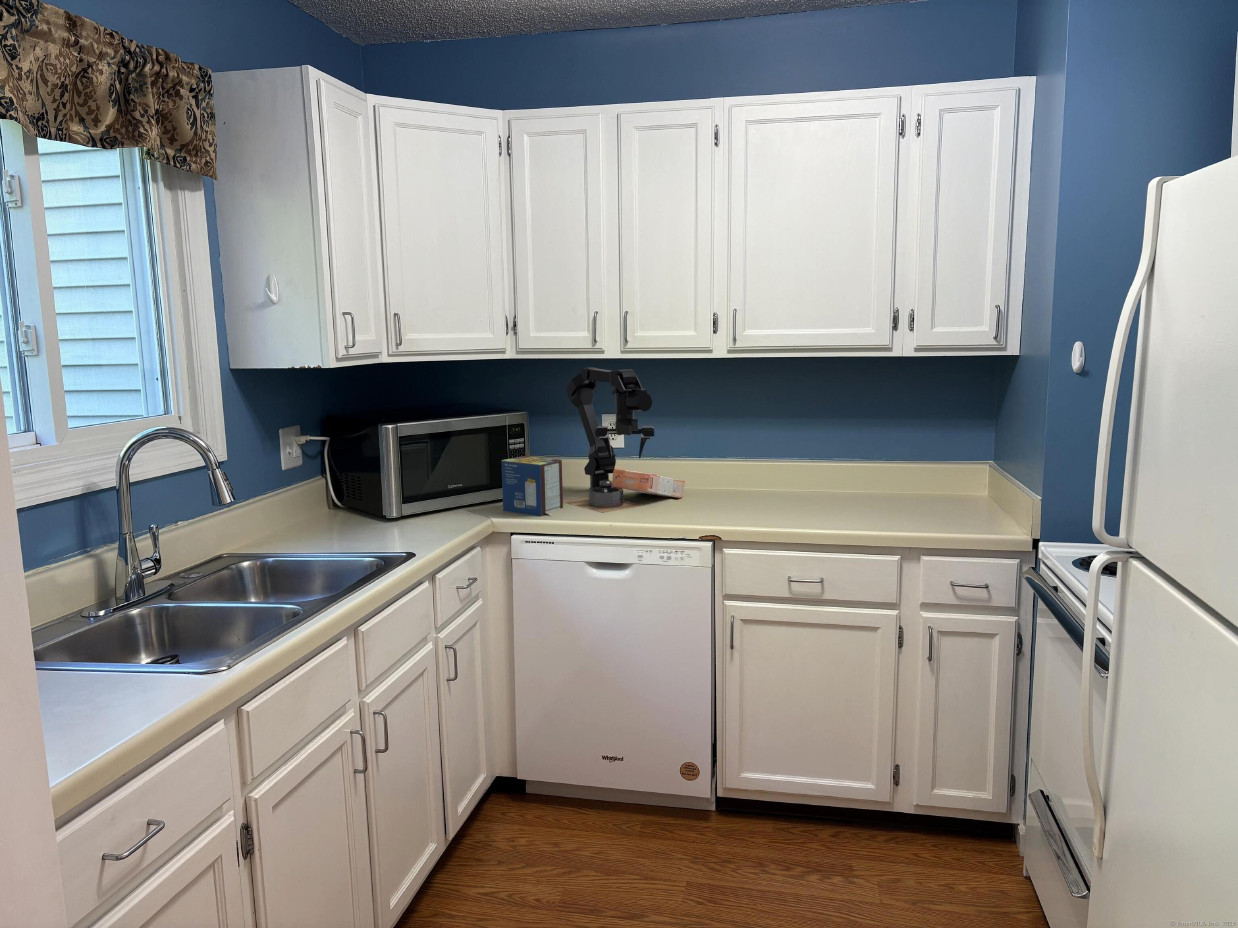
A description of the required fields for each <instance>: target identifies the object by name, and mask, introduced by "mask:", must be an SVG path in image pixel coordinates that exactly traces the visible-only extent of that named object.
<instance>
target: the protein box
mask: <svg viewBox="0 0 1238 928" xmlns="http://www.w3.org/2000/svg"><path fill="white" fill-rule="evenodd" d="M500 462H501V480H502V481H501V483H502V485H501V486H502V488H501V489H502V511H504V512H510V513H516V514H523V515H529V516H530V515H531V516H537V517H544V516H547V515H549V513H550V512H553V511H557V510H561V509H563V508H564V502H563V501H564V495H563V493H564V491H563V488H564V487H563V461H562V459H560V458H547V457H546V458H545V457H534V456H527V455H526V456H525V455H523V456H517V457H512V458H507V459H502V460H501V461H500Z"/></svg>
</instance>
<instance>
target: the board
mask: <svg viewBox="0 0 1238 928" xmlns="http://www.w3.org/2000/svg"><path fill="white" fill-rule="evenodd" d="M564 503H565V504H567V505H571V506H576V507H579V508H583V509H586V510H591V511H594V512H598V513H603V514H604V513H610V512H616V511H621V510H628V509H633V508H634V509H635V508H640V507H645V504H644V505H643V504H639V503H637V502H631V501H628V500H624V499H623V505H622V506H620V507H614V508H597V507H592V506H589V498H588V496H587V497H582V498H580V497H579V498H574V499H573V498H572V499H567V500H563V504H564Z"/></svg>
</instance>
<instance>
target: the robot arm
mask: <svg viewBox="0 0 1238 928" xmlns="http://www.w3.org/2000/svg"><path fill="white" fill-rule="evenodd" d="M597 382H602V383H606V384H609V385H610V386H611V387H613V388H614V390H612V391H611V395H613V396H615V422H614V427H615V428H609V426H607V425H599V422H598V419H597V415H596V412H595V410H594V409H595V408H594V406H593V401H594V396H595V394H594V391H595V389H596V387H597ZM647 390H648V389H645V388H644V387H643V386H642V383H641V382H640V379H639V377H638V375H637V374H636V371H635V369H615V370H610V369H601V368H597V367H595V366H594V367H584V368H582V369H581V370H580V372H579V374H577V375H575V376H574V377H573V378H572V379H571V380H570V381H569V383H568V385H567V386H566V394H567V396H568V399H569V401H570V402H571V404H572V405H574V406H575V407H576V408H577V410H578V413H579V416H580V420H581V422H582V425H583V426H582V427H583V428H584V432H585V435H586V438H587V441H588V445H589V451H588V455H587V457H588V462H587V463H586V465H585V466H584V468H583V469H584V474H585V475H586V476H589V482H590V485H589V486H590V487H589V488H591V487H594V488H597V487H600V481H602V480H610V478H609V477H610V475H611V474H613V472H614V469H615V467H616V464H617V459H616V456H617V455H616V453H615V451H614V447H613V445H611V439H610V435H617V436H625V435H627V436H632V435H641V436H640V443H639V451H638V459H641V457H642V453H643V450H644V447H645V444H646V443H647V441H648V440H651V437H655V427H654V425H642V426H641V428H639V419H638V418H636V419H635V415H634V414H635V411H636V412H648V411H649V410H650V409H651V408H652V406H653V399H652V396H651V395H650V394H649V393H648V391H647ZM588 490H589V489H587V490H586V492H587V491H588Z"/></svg>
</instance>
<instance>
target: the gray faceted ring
mask: <svg viewBox="0 0 1238 928" xmlns="http://www.w3.org/2000/svg"><path fill="white" fill-rule="evenodd" d="M587 490H588V492H587V493H588V494H587V495H588V496H587V497H588V498H589V506H592V507H597V508H614V507H620V506H622V505H623V500H624V489H622V488H617V487H611V488H607V492H604V488H600V487H597V488H594V487H591V488H590V487H589V489H587Z"/></svg>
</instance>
